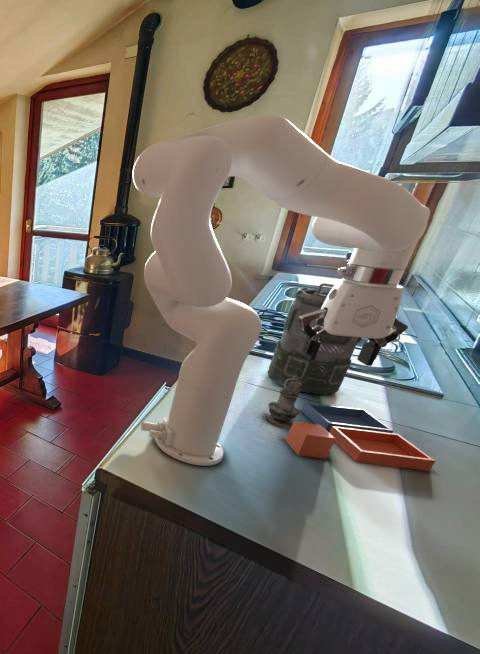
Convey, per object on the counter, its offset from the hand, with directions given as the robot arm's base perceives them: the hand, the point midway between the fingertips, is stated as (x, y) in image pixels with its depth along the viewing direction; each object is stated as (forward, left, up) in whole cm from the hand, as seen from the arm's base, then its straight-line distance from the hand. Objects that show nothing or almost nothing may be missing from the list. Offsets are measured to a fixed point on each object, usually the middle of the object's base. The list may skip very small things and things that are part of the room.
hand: (335, 360), depth 78 cm
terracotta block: (-2, -5, -19) cm, 19 cm away
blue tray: (+12, +8, -19) cm, 23 cm away
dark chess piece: (-2, +6, -19) cm, 20 cm away
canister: (+14, +30, -19) cm, 38 cm away
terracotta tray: (+12, -3, -19) cm, 22 cm away
